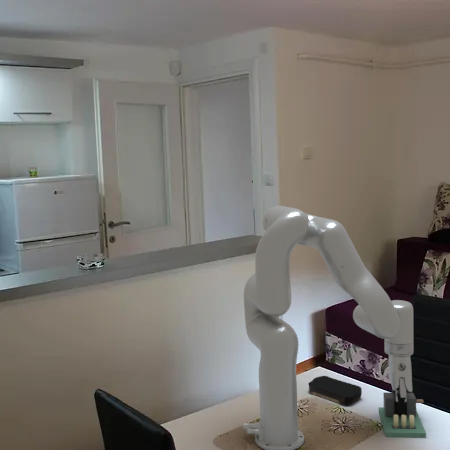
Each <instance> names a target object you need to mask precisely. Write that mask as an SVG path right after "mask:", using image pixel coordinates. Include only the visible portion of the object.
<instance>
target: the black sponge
mask: <svg viewBox="0 0 450 450" xmlns="http://www.w3.org/2000/svg"><path fill="white" fill-rule="evenodd" d="M310 393H311V395H314V394H315V396H317V395H318V396H317V397H320V398H322V397H323V398H322V399H325V398H326V400H329V401H331V402H335V404H336V403H337V404H339V405H341V406H348V405H350V404H352V403H353V402H354V401H357V400H358V399H360V398H361V397H362V393H363V390H362V387H361V386H359V385H357V384H353V383H350V382H347V381H343V380H339V379H336V378H333V377H330V376H328V375H321V376H316V377H315V378H313V379H312V380H311V381H310V382H308V394H310Z"/></svg>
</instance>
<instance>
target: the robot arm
mask: <svg viewBox="0 0 450 450" xmlns="http://www.w3.org/2000/svg"><path fill="white" fill-rule="evenodd" d="M262 217H263V218H262V227H263V230H264V231H265V232H264V233H263V234H262V236H261V238H260V240H259V241H258V244H257V247H256V249H255V256H254V257H255V258H254V259H255V261H254V262H255V263H254V267H255V268H254V270H255V271H254V272H255V273H254V274H252V275H251V276H250V277H248V279H247V281H246V282H245V285H244V289H243V306H244V307H243V308H244V321H245V330H246V335H247V337H248V340H249V341H250V342H251V343H252V344H253V345H254V346H255V347H256V348H257V349H258V350H259V352H260V358H259V363H258V365H259V366H258V386H259V387H258V391H259V392H258V393H259V396H258V397H259V421H256V422H255V423H254V422H253V423H251V422H243V427H242V428H243V431H246V432H247V433H246V434H247V435H254V442H255V444H256V445H257V446H258V447H260V448H261V449H263V450H296V449H299V448H300V447H301V446H303V444H304V443H305V435H304V433H303V431H301V430H299V426H298V425H299V424H298V423H299V421H298V420H299V419H298V393H297V392H298V390H297V388H298V387H297V383H298V382H297V360H298V354H299V346H300V345H299V338H298V335H297V333H296V331H295V329H294V328H293V327H292V326H291V324H289V323H288V322H286V321H284V320H283V319H282V318H280V317H281V316H283V315H286V313H287V312H288V311H289V310H290V307H291V304H292V289H291V285H292V284H291V275H290V274H291V273H290V269H291V267H290V265H291V264H290V261H291V260H290V259H291V255H292V253H293V251H294V249H295V247H296V246H297V245H300V246H306V247H308V248H309V247H310V248H312V249H315V250H317V252H318V253H319V254H320V256H321V258H322V260H323V262H324V263H325V266H326V267H327V269H328V271H329V273H330V274H331V276H332V278H333V280H334V282H335V283H336V284H337V285H338V286H339V288H340V289H341V290H342V291H343V292H345V293H346V294H347V295H348V296H350V297H351V298H353V300H354V301H355V302H356V303H357V306H355V308H354V310H353V313H352V319H353V321H354V323H355V324H356V325H357V326H358V327H359V328H361V329H362V330H364V331H365V332H367V333H370V334H372V335H374V336H376V337H377V338H380V339H382V340H383V339H384V343H383V344H384V353H385V354H386V355H388V376H389V377H388V378H389V382H390V384H391V388H392V389H391V393H395V400H396V401H394V413H395V414H396V415H398V416H401V415H406V416H407V398H406V393H407V392H408V393H413V381H412V380H413V376H412V375H413V373H412V361H411V360H412V359H411V356H412V355H413V354H414V307H413V304H412V303H411V302H410V301H406V300H402V299H401V300H400V299H393V300H391V298H390V296H389V294H388V293H387V292H386V290H384V288H383V287H382V285H381V284H380V283H379V282H378V281H377V279H376V278H375V277H374V275H372V274H371V272H370V271H369V269H367V267H366V266H365V264H364V262H363V261H362V259H361V256H360V255H359V253H358V251H357V249H356V248H355V245H354V243H353V242H352V239H351V238H350V236H349V233H348V232H347V230H346V228H345V227H344V226H343V224H342V223H341V222H339V221H338V220H335V219H331V218H326V217H322V216H318V215H313V214H310V213H306V212H304V211H303V210H301V209H299V208H296V207H288V206H284V205H275V206H272V207H269V209H267V210H266V211H265V213H264V215H263V216H262ZM398 393H400V395H398Z"/></svg>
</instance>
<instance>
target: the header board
mask: <svg viewBox="0 0 450 450" xmlns="http://www.w3.org/2000/svg"><path fill="white" fill-rule="evenodd" d="M378 414H379V418H380V421H381V425H382V428H383V431H384V435H385V437H387V438H424V439H425V438H427V432H426V430H425V427H424V425H423V423H422V420H421V418H420V415H419V413H418V410H417V409H416V417H414V415H409V417H407V416H406V415H401V416H398V415H396V414H395V415H394V416H385V413H384V406H383V407H380V406H379V407H378Z"/></svg>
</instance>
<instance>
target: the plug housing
mask: <svg viewBox="0 0 450 450" xmlns="http://www.w3.org/2000/svg"><path fill="white" fill-rule="evenodd" d="M398 395H400V393H398ZM406 398H407V417H409V415H414V417H416V410H417V404H423V403H424V399H422V398H421V399H420V398H416V395H415V394H414V392H406ZM394 401H396V400H395V393H392V392H383V407H384V413H385V416H394V415H395V413H394Z"/></svg>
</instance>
